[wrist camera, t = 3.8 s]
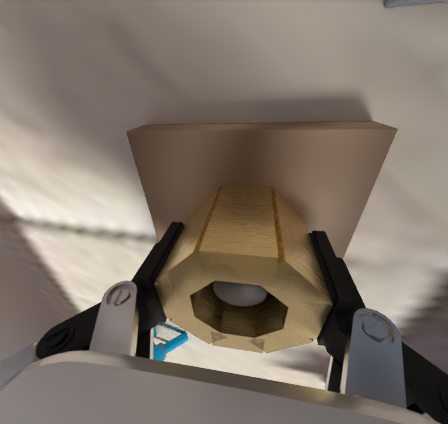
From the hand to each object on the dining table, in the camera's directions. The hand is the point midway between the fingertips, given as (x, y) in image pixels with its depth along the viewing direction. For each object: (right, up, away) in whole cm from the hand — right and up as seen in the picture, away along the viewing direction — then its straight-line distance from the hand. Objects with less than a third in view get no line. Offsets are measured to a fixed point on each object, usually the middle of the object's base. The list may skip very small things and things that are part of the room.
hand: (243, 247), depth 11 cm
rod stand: (0, +2, +3) cm, 3 cm away
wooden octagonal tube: (0, +1, +1) cm, 1 cm away
